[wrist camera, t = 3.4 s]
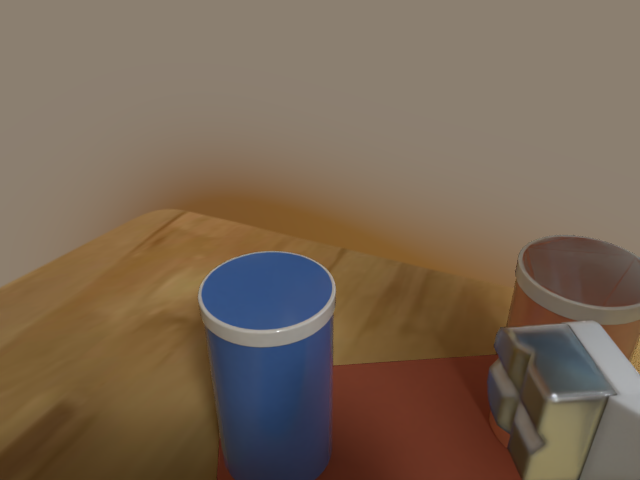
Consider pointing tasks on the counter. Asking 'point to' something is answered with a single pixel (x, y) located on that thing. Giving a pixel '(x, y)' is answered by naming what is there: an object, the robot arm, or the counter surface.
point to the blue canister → (271, 363)
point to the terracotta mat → (413, 423)
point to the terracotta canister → (577, 290)
